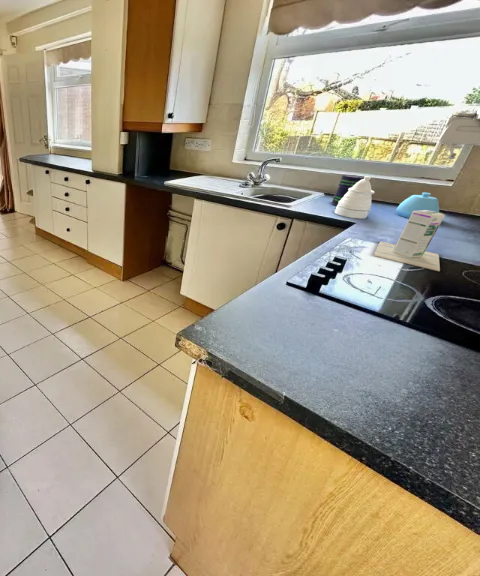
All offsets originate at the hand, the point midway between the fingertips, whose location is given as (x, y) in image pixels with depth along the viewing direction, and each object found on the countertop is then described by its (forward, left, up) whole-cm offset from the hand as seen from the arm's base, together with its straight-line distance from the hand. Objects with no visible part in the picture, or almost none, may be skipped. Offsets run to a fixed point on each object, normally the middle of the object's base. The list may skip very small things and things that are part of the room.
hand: (469, 160), depth 107 cm
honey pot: (+27, -25, -29) cm, 47 cm away
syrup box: (+4, +26, -29) cm, 39 cm away
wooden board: (+4, +26, -29) cm, 39 cm away
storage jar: (+34, -48, -29) cm, 66 cm away
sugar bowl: (+4, -49, -29) cm, 57 cm away
